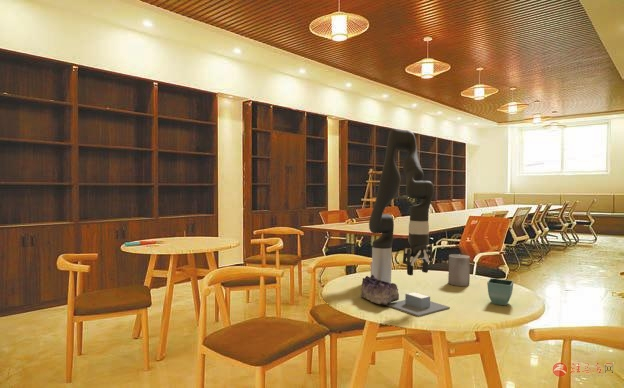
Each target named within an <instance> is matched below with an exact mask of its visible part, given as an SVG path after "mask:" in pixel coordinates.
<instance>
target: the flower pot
mask: <svg viewBox="0 0 624 388" xmlns="http://www.w3.org/2000/svg"><path fill="white" fill-rule="evenodd" d="M486 284H487V295H488V297H489V300H490V302H491V303H492V304H493V305H500V306H507V305H508V303H509V301H510V299H511V297H512V294H513V290H514V289H513V287H514V280H508V279H499V278H494V277H493V278H492V277H490V278H489V279H488V281H487V283H486Z"/></svg>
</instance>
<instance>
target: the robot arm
mask: <svg viewBox="0 0 624 388" xmlns="http://www.w3.org/2000/svg"><path fill="white" fill-rule="evenodd" d="M396 151H398V152H407V153H408V154H407V156H406V157H405V159H404V161H403V164H402V169H403V174H404V175H405V176H404V177H405V180H406V183H405V194H406V196H407V198H409V199H413V200H414V199H415V200H419V199H420V200H421V202H420V203H418V204H414V205H411V206H410V207H409V208H410V209H409V223H408V244H409V245H410V246H409V248H407V247H404V248H403V255H402V256H403V257H402V263H403V264H404V265H406V274H407V275H408V276H413V275H414V264H415V262H417V261H418V260H419V259H420V260H421V263H422V266H421V267H422V269H421V271H422V273H424V274H427V273H429V272H428V271H429V264H430V262H432V261H433V246H432V245H429V243H430V241H429V240H430V239H429V238H430V237H429V236H430V233H429V232H430V223H429V217H430V216H429V213H430V212H429V211H430V206H431V202H432V200H433V197H434V193H435V187H434V186H435V185H434V184H433V182H432V181H430V180H424V178H425V174H424V171H423V168H422V166H421V163H420V160H419V152H418V145H417V138H416V136H415V133H414V132H413V131H411V130H406V129H396V128H393V129H391V130H390V131H389V133H388V138H387V142H386V150H385V156H384V163H383V167H382V170H381V176H380V178H379V182H378V188H377V194H376V197H375V201H374V205H373V207H372V211H371V213H370V217H369V222H368V228H369V231H370V232H371V233H372V234H381V236H379V238H376V239H374V240H373V241H372V242H371V243H372V250H371V251H372V252H371V253H372V254H371V256H372V257H371V258H372V259H371V261H370V277H371V276H372V275H373V276H374V277H375V278H377V279H378V280H381V281H384V282H389V283H392V262H393V261H392V256H393V254H392V253H393V252H392V248H393V247H392V246H393V241H394V227H395V225H394V223H395V222H394V218H393V216H392V215H391V214H387V213H386V214H385V213H384V211H385V210H386V207H388V205H389V204H390V202H392V201H393V200H394V199H395V197H396V196H397V195H398V193H399V190H400V185H401V181H402V180H401V173H400V171H399V169H398V166H397V163H396V159H395V155H396Z"/></svg>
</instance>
